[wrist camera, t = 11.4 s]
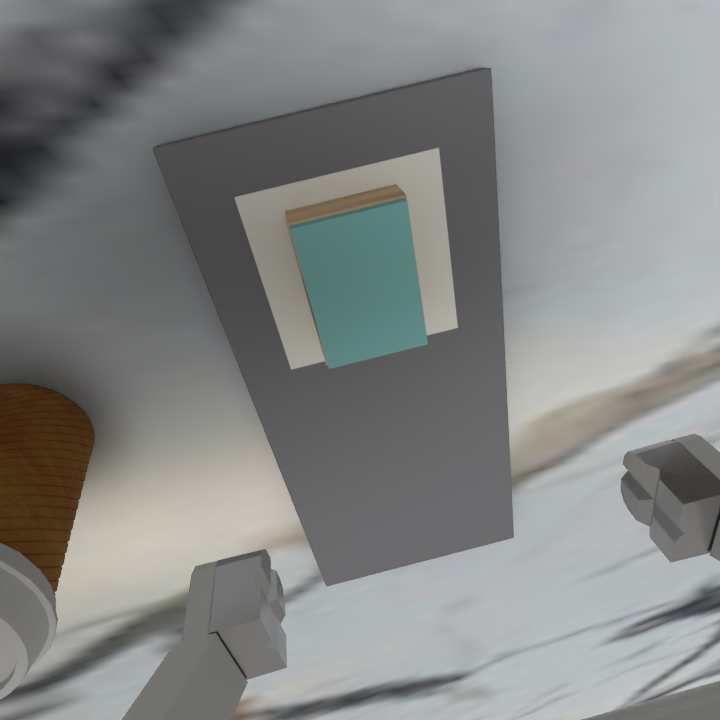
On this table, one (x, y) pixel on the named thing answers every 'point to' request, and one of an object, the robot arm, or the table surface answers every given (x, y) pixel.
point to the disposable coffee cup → (35, 517)
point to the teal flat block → (360, 274)
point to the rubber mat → (380, 374)
